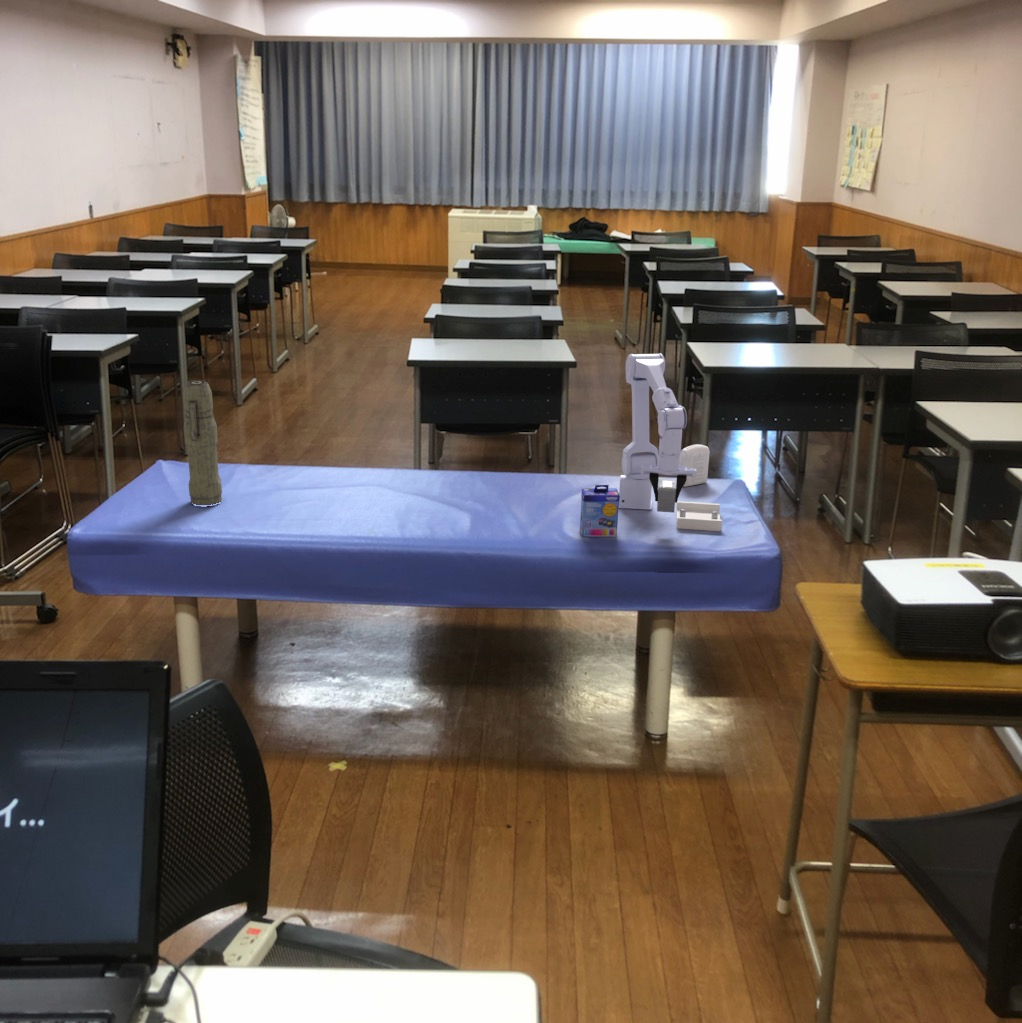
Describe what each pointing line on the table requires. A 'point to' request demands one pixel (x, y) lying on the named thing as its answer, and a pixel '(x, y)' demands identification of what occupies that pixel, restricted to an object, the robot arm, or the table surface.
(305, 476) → the table surface
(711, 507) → the tray
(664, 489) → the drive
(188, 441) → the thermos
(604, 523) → the ink cartridge box
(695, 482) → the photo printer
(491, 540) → the table surface
